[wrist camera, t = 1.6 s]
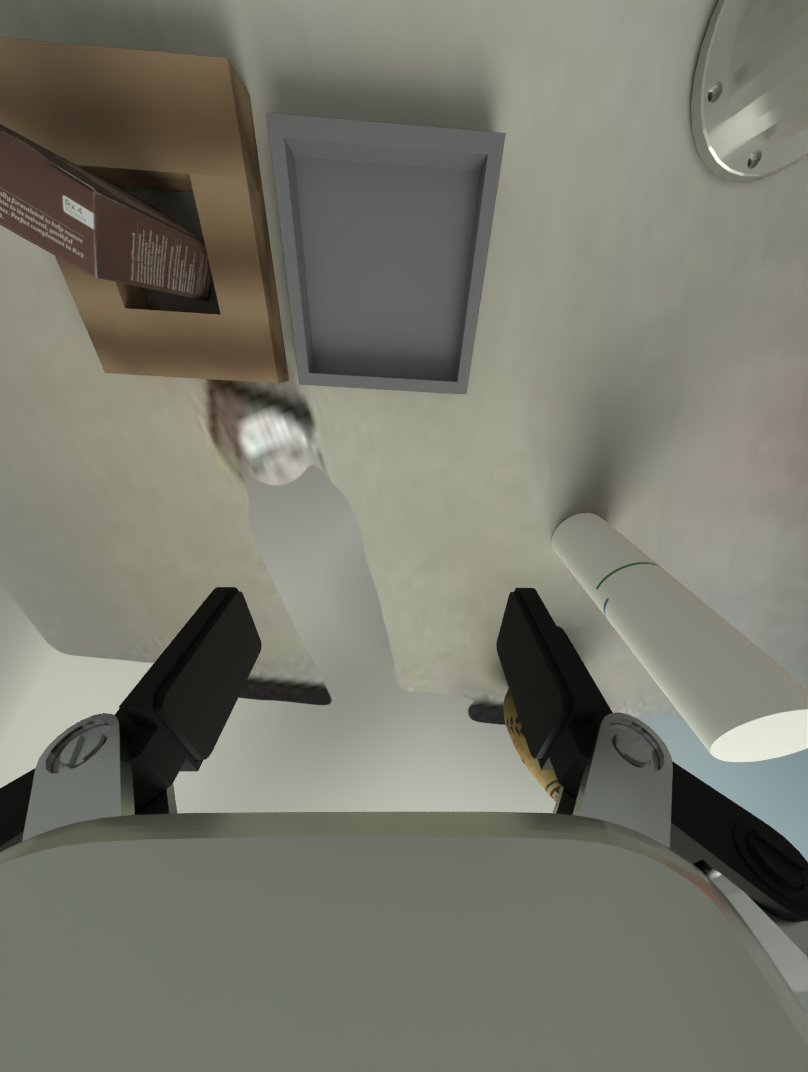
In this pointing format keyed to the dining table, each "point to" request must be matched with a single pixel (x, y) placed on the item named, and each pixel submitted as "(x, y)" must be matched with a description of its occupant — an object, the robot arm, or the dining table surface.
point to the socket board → (166, 164)
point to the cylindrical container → (688, 647)
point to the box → (96, 223)
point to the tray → (384, 248)
